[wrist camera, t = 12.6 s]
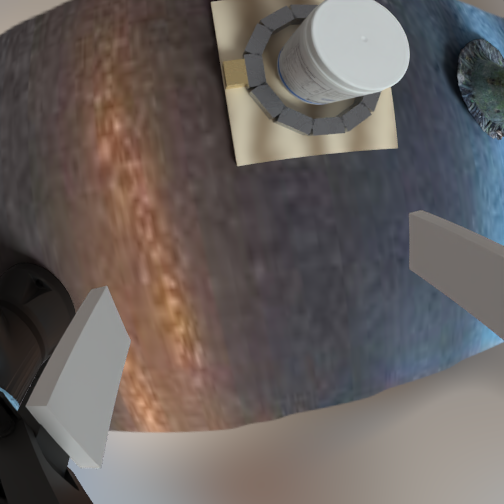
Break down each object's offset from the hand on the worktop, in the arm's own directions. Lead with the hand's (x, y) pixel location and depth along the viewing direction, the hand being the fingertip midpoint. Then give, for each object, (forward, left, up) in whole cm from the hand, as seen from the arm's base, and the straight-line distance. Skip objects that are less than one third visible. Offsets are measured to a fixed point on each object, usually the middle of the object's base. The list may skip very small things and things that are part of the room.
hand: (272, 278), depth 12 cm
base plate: (+12, +13, -28) cm, 33 cm away
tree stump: (+46, +13, -28) cm, 55 cm away
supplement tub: (+12, +13, -27) cm, 32 cm away
